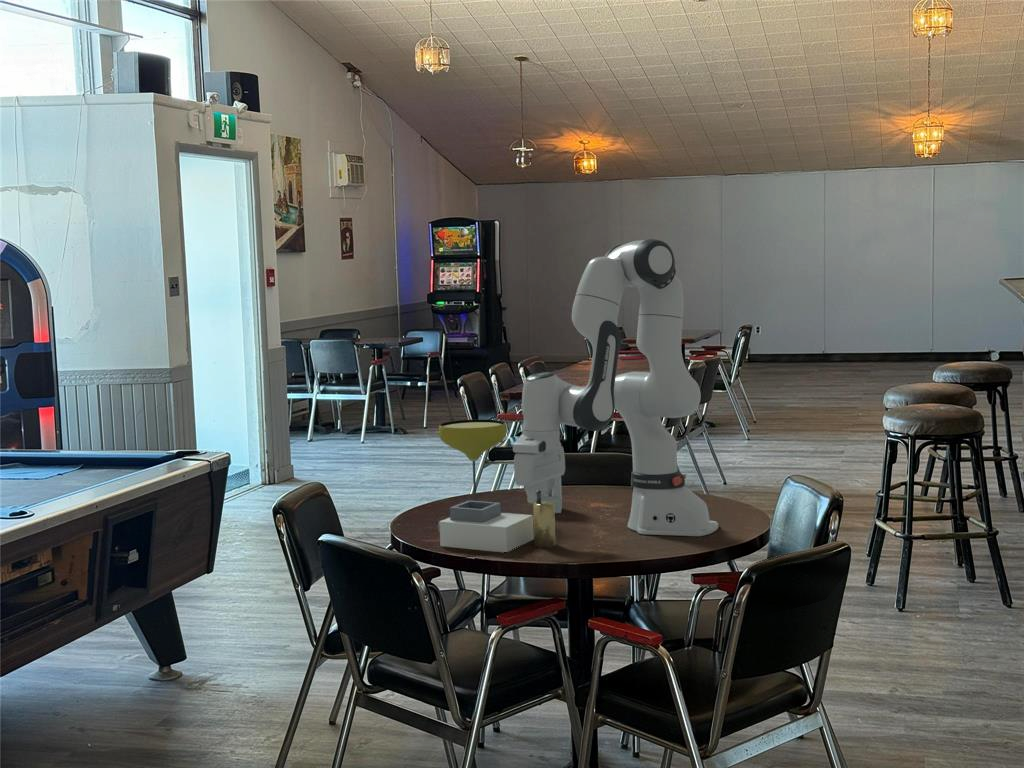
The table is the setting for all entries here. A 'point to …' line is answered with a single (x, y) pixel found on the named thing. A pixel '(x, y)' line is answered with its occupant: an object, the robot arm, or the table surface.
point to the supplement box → (555, 499)
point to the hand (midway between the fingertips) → (541, 499)
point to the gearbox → (485, 527)
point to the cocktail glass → (472, 438)
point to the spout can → (544, 522)
